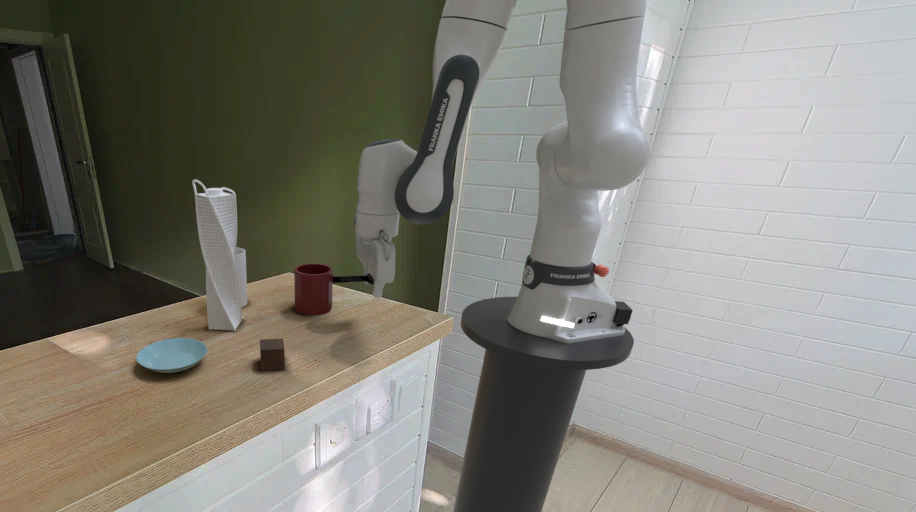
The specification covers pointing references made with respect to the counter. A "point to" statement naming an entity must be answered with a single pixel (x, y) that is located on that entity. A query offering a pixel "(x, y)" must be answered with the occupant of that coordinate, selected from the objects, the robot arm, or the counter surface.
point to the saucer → (171, 355)
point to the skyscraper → (219, 255)
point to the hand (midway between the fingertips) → (372, 289)
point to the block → (272, 354)
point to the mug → (241, 274)
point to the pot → (318, 287)
